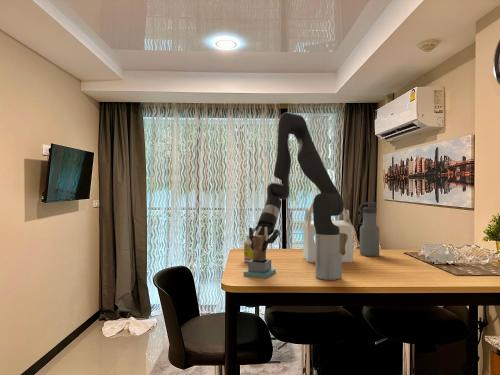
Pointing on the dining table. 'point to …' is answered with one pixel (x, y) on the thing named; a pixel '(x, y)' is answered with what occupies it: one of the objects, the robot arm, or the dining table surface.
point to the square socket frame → (259, 266)
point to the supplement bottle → (248, 249)
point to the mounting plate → (261, 275)
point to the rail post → (258, 248)
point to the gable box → (344, 237)
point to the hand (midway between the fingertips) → (257, 249)
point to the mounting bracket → (436, 257)
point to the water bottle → (369, 230)
